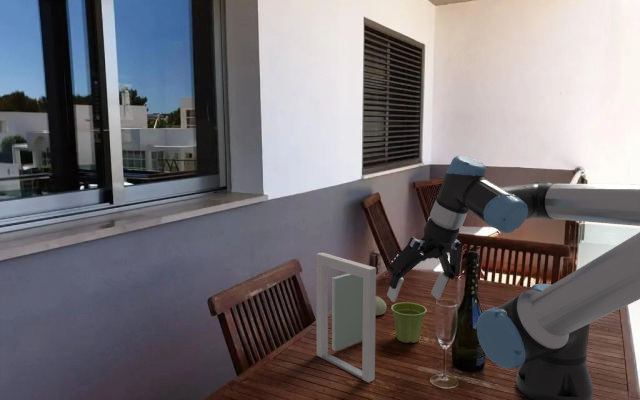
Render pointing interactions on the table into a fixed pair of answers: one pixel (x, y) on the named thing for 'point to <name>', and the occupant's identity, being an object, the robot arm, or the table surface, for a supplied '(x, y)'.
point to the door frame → (368, 312)
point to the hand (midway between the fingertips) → (413, 297)
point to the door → (347, 311)
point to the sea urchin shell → (380, 306)
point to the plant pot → (408, 321)
